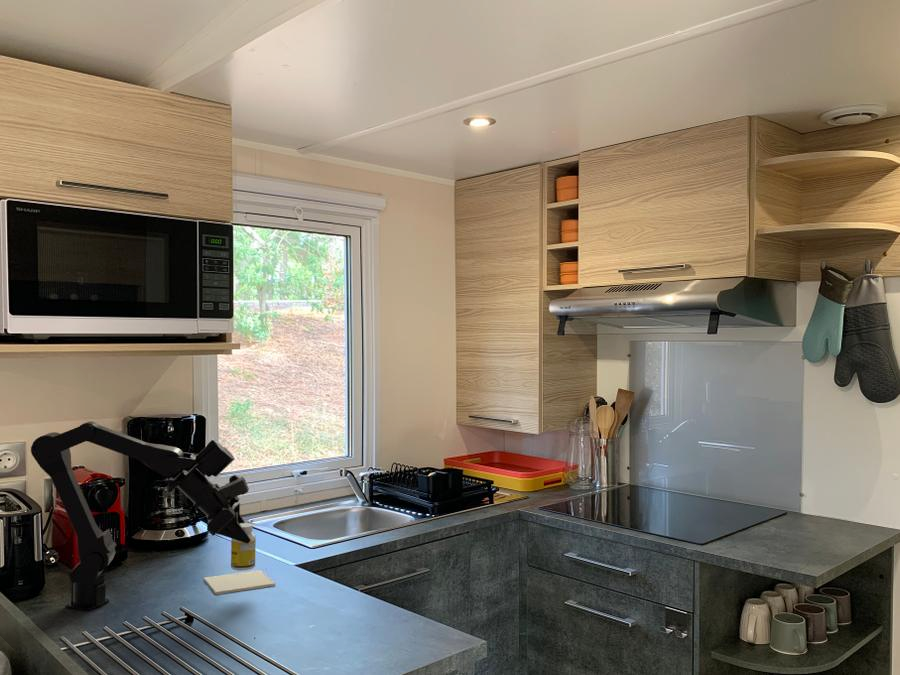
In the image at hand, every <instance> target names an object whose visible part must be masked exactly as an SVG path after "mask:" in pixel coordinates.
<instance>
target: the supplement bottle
mask: <svg viewBox="0 0 900 675" xmlns="http://www.w3.org/2000/svg"><path fill="white" fill-rule="evenodd" d="M240 525H241V527H242V528H243V530H244V531H245V532H246V534H247V535H248V536H249V538H250V539H251V541H250V542H249V543H244V542H241V541H238V540H235V539H232V538H230V539H231V540H230V542H231V544H230V546H231V548H230V549H231V550H230V568H231V570H233V571H239V572H242V571H243V572H245V571H250V570H252V569H254V568H255V567H256V540H257V539H256V535H255V533H253V530H254V529H253V527H254V524H253V523H247V522H245V523H240Z"/></svg>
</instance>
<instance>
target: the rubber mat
mask: <svg viewBox="0 0 900 675" xmlns="http://www.w3.org/2000/svg"><path fill="white" fill-rule="evenodd" d="M203 581H204V582H205V583H206V584H207V586H208V587H209V588H210V590H211V591H212V592H213V593H214V595H222V594H229V593H236V592H243V591H244V592H245V591H251V590H257V589H261V588H268V587H275V586H276V583H275V581H273V579H272V578H270V576H268V575H267V574H266V573H265V572H264V571H262V569H258V570H257V569H256V570H251V571H250V570H248V571H243V572H242V571H241V572H238V573H237V572H235V573H228V574H221V575H214V576H208V577H207V576H206V577H203Z"/></svg>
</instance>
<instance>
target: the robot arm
mask: <svg viewBox="0 0 900 675" xmlns="http://www.w3.org/2000/svg"><path fill="white" fill-rule="evenodd" d="M85 442H88V443H90V444H91V443H92V444H94V445H97V446H100V447H102V448H104V449H108V450H110V451H113V452H116V453H119V454H122V455H123V456H127V457H129V458H133V459H135V460H138V461H139V462H141V463H143V464H144V465H145V466H147V467H148V468H149V469H151V470H153V472H156V473H157V474H159V475H161V476H165V477H172V476H174V475H176V474H177V473H178V472H179V471H180V470H182V471H181V472H180V473H179V474H178V475H177V476H175V477H174V478H168V480H167V484H168V486H167V487H168V488H167V492H168V493H169V494H170V493H171V492H173V491H174V490H175V489H176V488H178V489H179V490H180V491H181V492H182V493H183V494H184V495H185V496H186V497H187V498H188V499H189V500H190V501H191V503H193V507H194V508H195V509H199V510H200V511H201V512H203V514H205V515H206V516H207V517H206V519H207V520H208V522H207V523H206V524H207V526H206V531H207V532H208V533H210V534H211V535H212V536H216V535H220V536H223V537H225V538H230V539H235V540H238V541H241V542H244V543H249V542H250V541H251V539H250V538H249V536H248V535H247V534H246V532H245V531H244V530H243V528H242V527H241V525H240V523H246V521H245V520H244V519H243V516H242V515H241V503H239V501H240V498H239V496H242V495H243V496H244V495H246V494H248V492H249V486H248V484H247V481H246V479H245V477H244V476H239V475H237V474H233V475H231V476H229V480H228V483H227V482H226V483H225V484H224V485H222V486H220V485H219V484H218V483H213V482H211V481H210V480H209V479H208V478H211V477H215V478H216V477H217V476H219V475H220V474H221V473H222V472H223V471H224V470H225V469H226V468H227V467H228V466H229V465H230V464H232V462H234V461H235V459H236V458H235V457H234V455H233V454H232V452H231V451H230V450H229V449H228V448H227V447H226V446H223V445H222V444H221V443H219V442H217V440H216V439H214V438H212V439H211V440H210V441H209V442H208V444H206V446H205V447H204V448H203V449H202V450H201V451H200V452H198V453H193V452H192V453H190V452H183V450H182V449H180V448H178V447H176V446H171V445H166V444H160V443H158V444H157V443H152V442H151V443H150V442H145V441H143V440H141V439H138V438H136V437H132V436H129V435H127V434H125V433H121V432H120V431H118V430H113V429H112V428H111V429H110V428H108V427H105V426H103V425H100V424H99V423H97V422H95V421H87V422H84V423H82V424H80V425H79V426H77V427H74V428H72V429H70V430H67V431H64V432H62V433H60V432H49V433H45V434H44V435H43V434H42V435H40V436H39V437H37V438H36V439H35V440H34V441H33V442H32V444H31V446H30V453H31V455H32V457H33V459H34V460H35V461H36V463H37V464H38V466H39V467H40V468H41V470H42V471H44V473H45V474H47V475H48V476H49V478H50V479H51V481H52V484H53V485H54V488H55V490H56V492H57V494H58V496H59V499H60V501H61V503H62V507H63V508H64V511H65V513H66V515H67V517H68V520H69V522H70V524H71V527H72V528H73V530H74V533H75V535H76V544H77V554H78V558H79V562H78V563H77V564H76V565H75V567H73V568H72V570H71V571H69V573H68V577H69V579H70V582H71V586H70V587H71V590H70V594H71V595H70V602H68V603H65V605H64V606H65V608H69V609H75V610H80V611H81V610H82V611H90V610H94V609H95V608H98V607H100V606H103V605H105V604H107V603H109V602H110V599H109V598H106V586H107V585H106V584H107V583H105V578H106V576H105V575H103V574H102V573H103V572H104V570H105V569H106V568H107V567H108V566H109V565H110V563H112V561H113V559H114V557H115V555H116V548H115V547H117V543H116V542H115V541H114V539H113V537H112V533H111V529H109V528H108V529H106V530H104V531H103V530H102V529H101V528H100V527H99V526H98V525H97V523H96V521H95V518H94V516H93V514H92V512H91V511H92V510H91V509H90V506H89V505H88V502H87V500H86V498H85V496H84V493H83V491H82V489H81V487H80V484H79V482H78V480H77V477H76V475H75V473H74V470H73V468H72V467H73V466H72V453H71V448H73V447H75V446H77V445H78V446H79V445H81V444H83V443H85ZM194 463H195V465H194ZM193 465H194V466H193ZM191 466H193V467H192V468H191ZM189 468H191V469H190V470H188V471H187V470H185V469H189ZM207 477H208V478H207ZM235 504H237V505H236V506H234V505H235Z"/></svg>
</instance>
